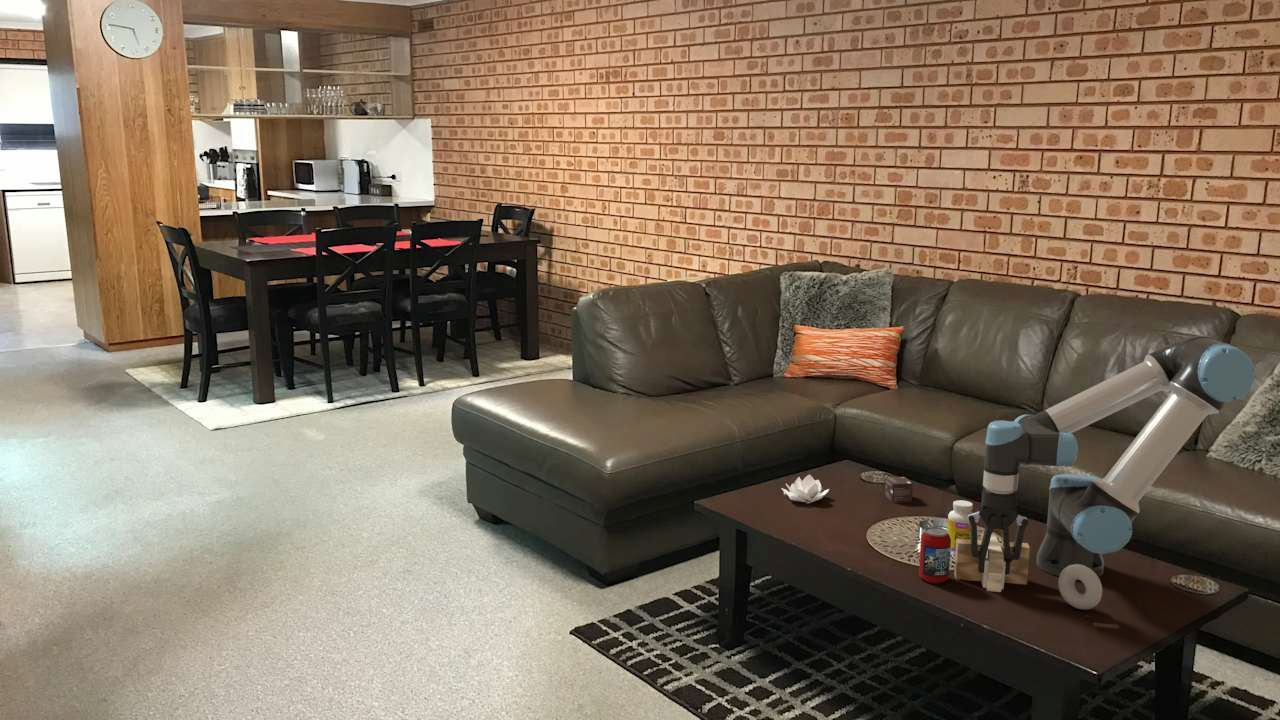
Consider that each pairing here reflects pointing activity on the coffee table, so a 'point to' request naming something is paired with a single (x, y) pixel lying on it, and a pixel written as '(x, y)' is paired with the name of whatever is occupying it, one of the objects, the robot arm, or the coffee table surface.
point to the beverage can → (935, 555)
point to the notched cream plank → (994, 564)
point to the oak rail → (969, 565)
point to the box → (898, 489)
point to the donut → (1090, 582)
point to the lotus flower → (805, 490)
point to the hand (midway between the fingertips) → (992, 585)
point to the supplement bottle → (959, 522)
